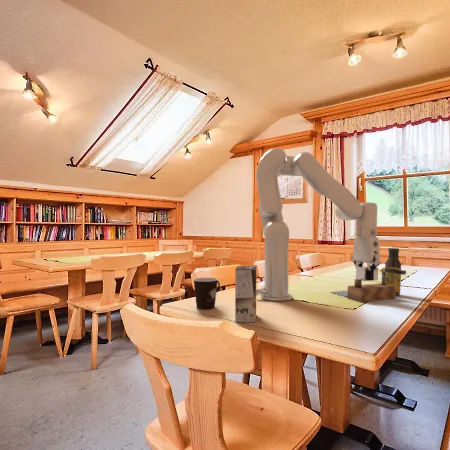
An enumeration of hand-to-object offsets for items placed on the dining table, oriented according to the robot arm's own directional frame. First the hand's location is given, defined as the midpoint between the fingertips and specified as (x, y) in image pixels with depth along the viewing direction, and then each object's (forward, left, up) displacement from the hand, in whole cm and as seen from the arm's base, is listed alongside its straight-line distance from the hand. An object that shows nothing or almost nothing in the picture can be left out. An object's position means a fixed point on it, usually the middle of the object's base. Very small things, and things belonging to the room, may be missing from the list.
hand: (364, 278), depth 130 cm
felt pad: (+1, +10, -8) cm, 13 cm away
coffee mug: (-62, +11, -8) cm, 63 cm away
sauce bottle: (+17, +2, -8) cm, 19 cm away
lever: (+10, -4, +2) cm, 11 cm away
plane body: (+3, 0, -8) cm, 9 cm away
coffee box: (-56, -7, -8) cm, 57 cm away
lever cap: (+1, 0, 0) cm, 1 cm away
